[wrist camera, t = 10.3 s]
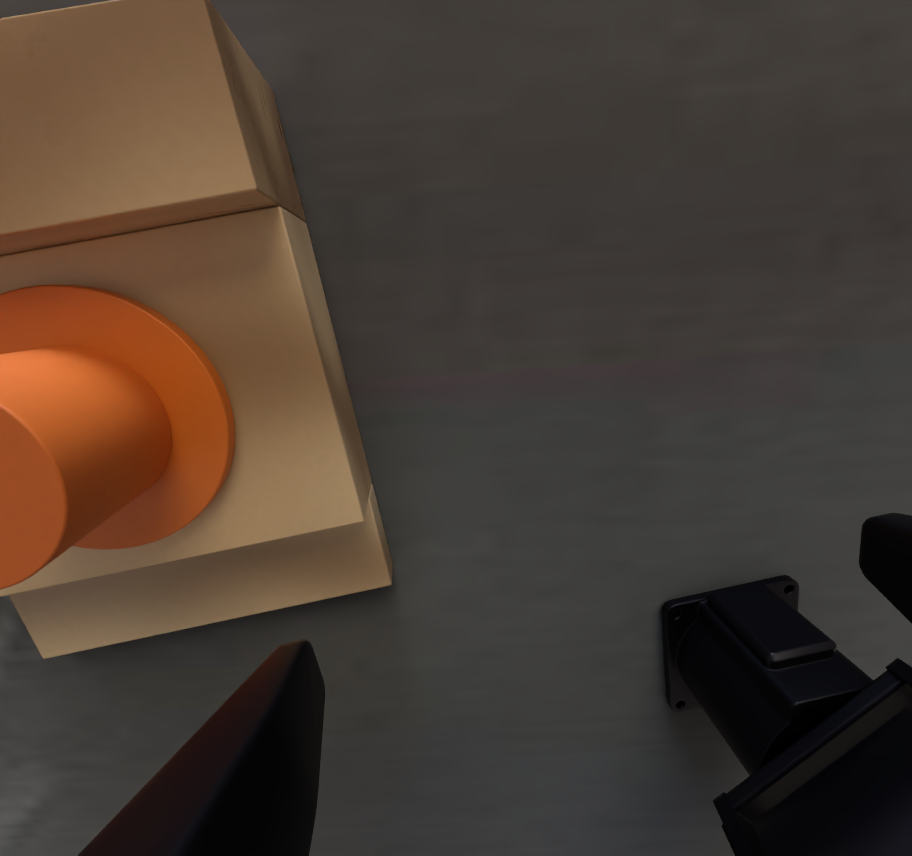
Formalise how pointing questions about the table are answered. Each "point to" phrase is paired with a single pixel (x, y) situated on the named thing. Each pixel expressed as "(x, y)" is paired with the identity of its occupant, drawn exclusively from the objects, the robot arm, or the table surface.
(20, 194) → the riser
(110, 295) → the hat
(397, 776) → the table surface
